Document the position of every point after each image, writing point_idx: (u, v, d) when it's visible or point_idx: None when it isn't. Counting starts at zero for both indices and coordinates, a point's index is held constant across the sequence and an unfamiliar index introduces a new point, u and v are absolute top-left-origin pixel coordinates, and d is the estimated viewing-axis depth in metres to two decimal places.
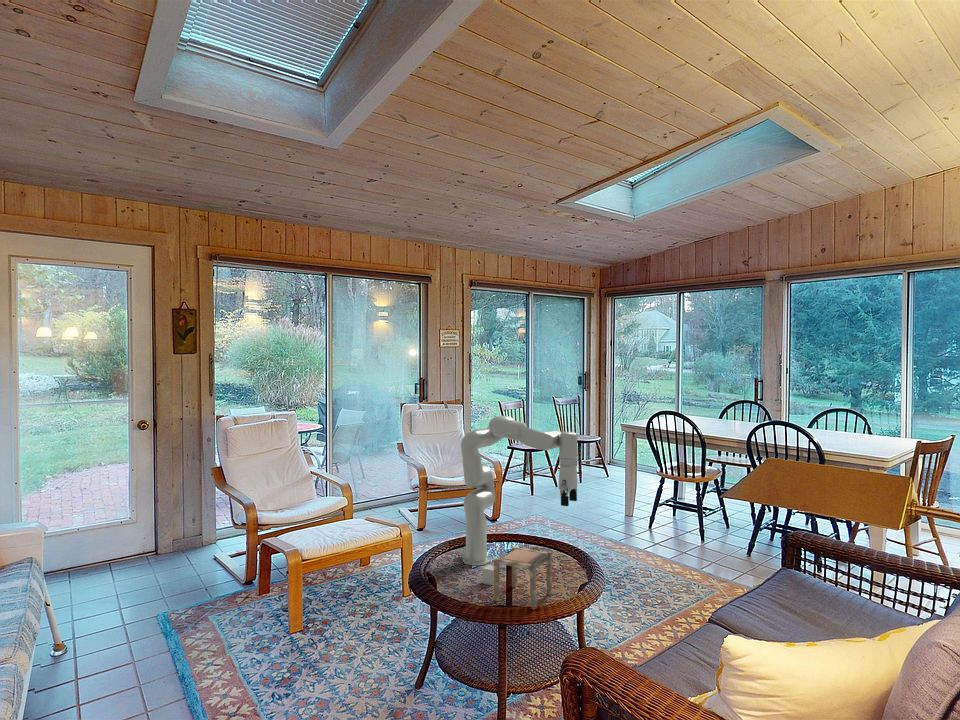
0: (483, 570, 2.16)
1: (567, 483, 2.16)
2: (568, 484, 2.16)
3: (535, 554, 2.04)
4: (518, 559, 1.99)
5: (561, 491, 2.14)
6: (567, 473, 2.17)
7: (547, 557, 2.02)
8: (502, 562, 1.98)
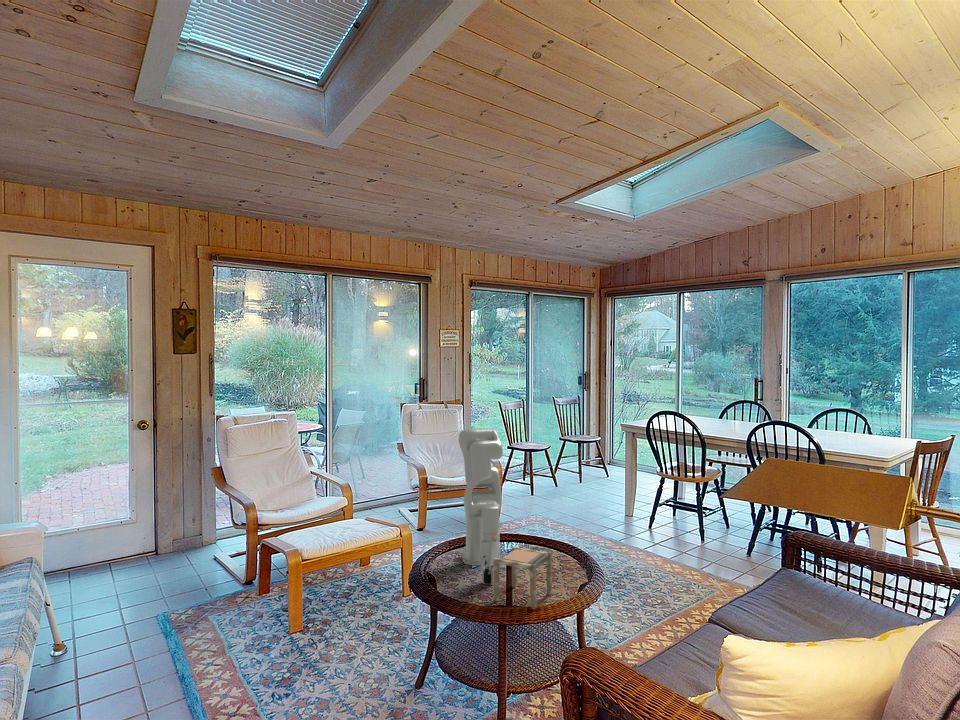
0: None
1: (487, 559, 2.12)
2: (488, 560, 2.12)
3: (535, 554, 2.04)
4: (518, 559, 1.99)
5: None
6: (487, 549, 2.13)
7: (547, 557, 2.02)
8: (502, 562, 1.98)
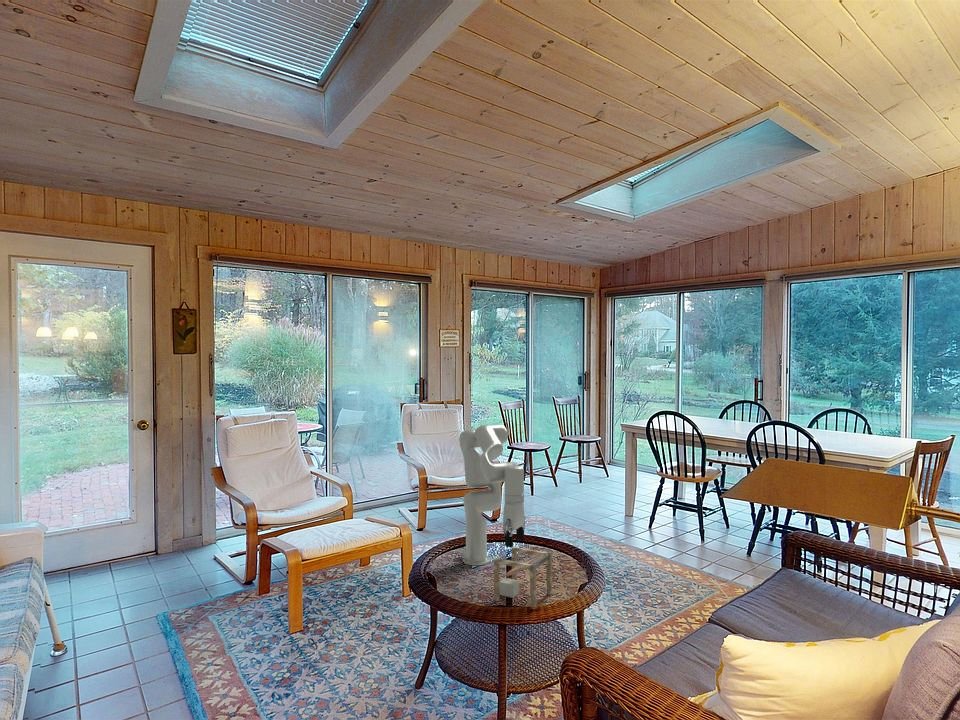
0: (501, 594, 2.04)
1: (511, 522, 2.00)
2: (512, 523, 2.00)
3: (535, 557, 2.04)
4: None
5: (504, 531, 1.98)
6: (511, 511, 2.00)
7: (547, 557, 2.02)
8: (502, 562, 1.98)
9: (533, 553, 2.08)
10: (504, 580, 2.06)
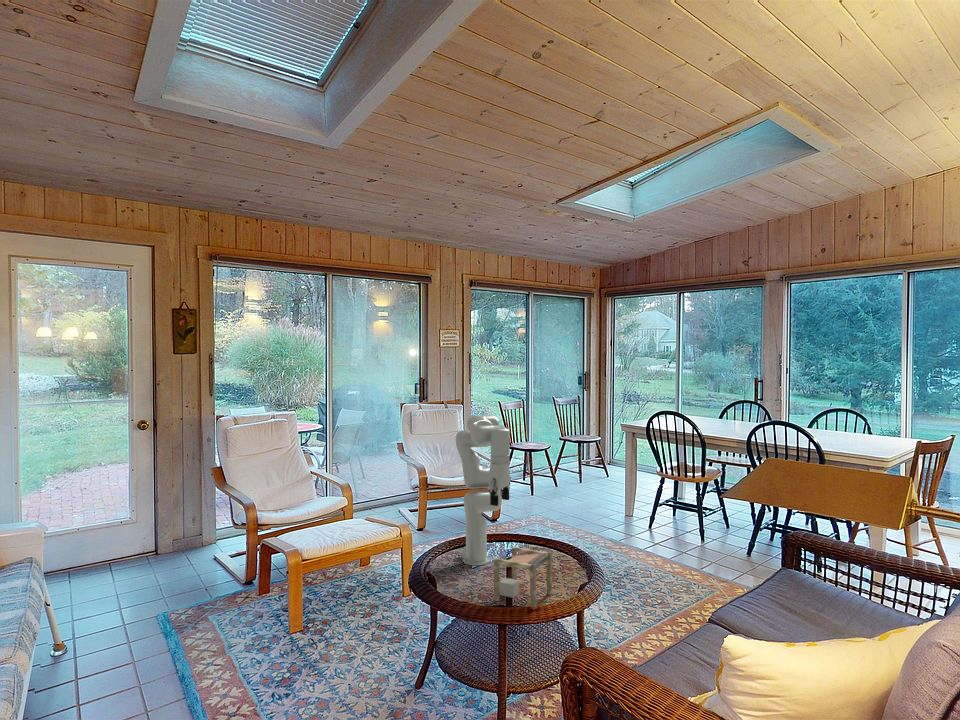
0: (501, 594, 2.04)
1: (497, 482, 2.06)
2: (498, 483, 2.06)
3: (535, 555, 2.04)
4: None
5: (490, 490, 2.04)
6: (497, 471, 2.06)
7: (547, 557, 2.02)
8: (502, 562, 1.98)
9: (533, 553, 2.08)
10: (504, 580, 2.06)
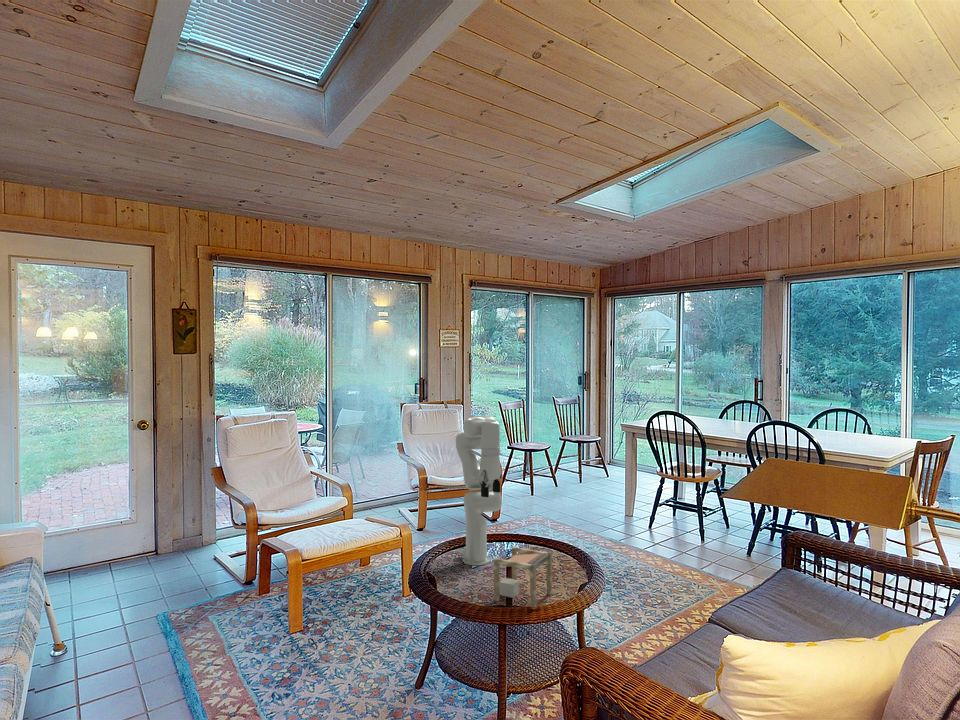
0: (501, 594, 2.04)
1: (487, 473, 2.10)
2: (488, 474, 2.10)
3: (535, 555, 2.04)
4: None
5: (480, 482, 2.08)
6: (487, 463, 2.10)
7: (547, 557, 2.02)
8: (502, 562, 1.98)
9: (533, 553, 2.08)
10: (504, 580, 2.06)
